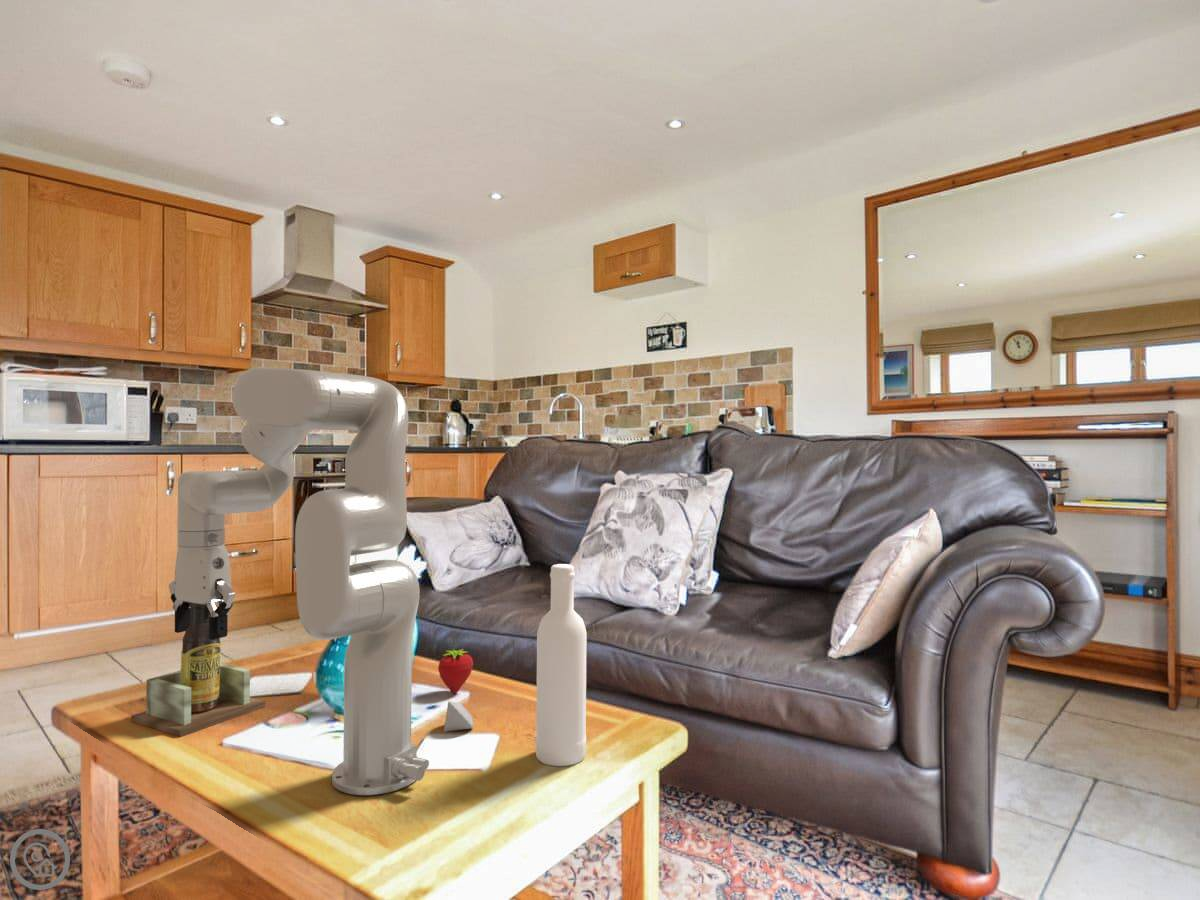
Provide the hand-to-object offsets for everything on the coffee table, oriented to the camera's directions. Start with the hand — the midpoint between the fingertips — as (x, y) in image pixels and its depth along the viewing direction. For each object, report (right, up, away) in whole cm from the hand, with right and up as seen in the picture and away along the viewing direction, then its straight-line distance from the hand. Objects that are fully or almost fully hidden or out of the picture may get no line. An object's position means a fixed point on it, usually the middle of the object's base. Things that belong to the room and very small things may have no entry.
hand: (200, 634), depth 130 cm
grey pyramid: (+48, -15, -6) cm, 50 cm away
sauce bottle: (0, -14, 0) cm, 14 cm away
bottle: (+66, -15, -16) cm, 69 cm away
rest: (0, -14, 0) cm, 14 cm away
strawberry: (+44, -15, +12) cm, 48 cm away
